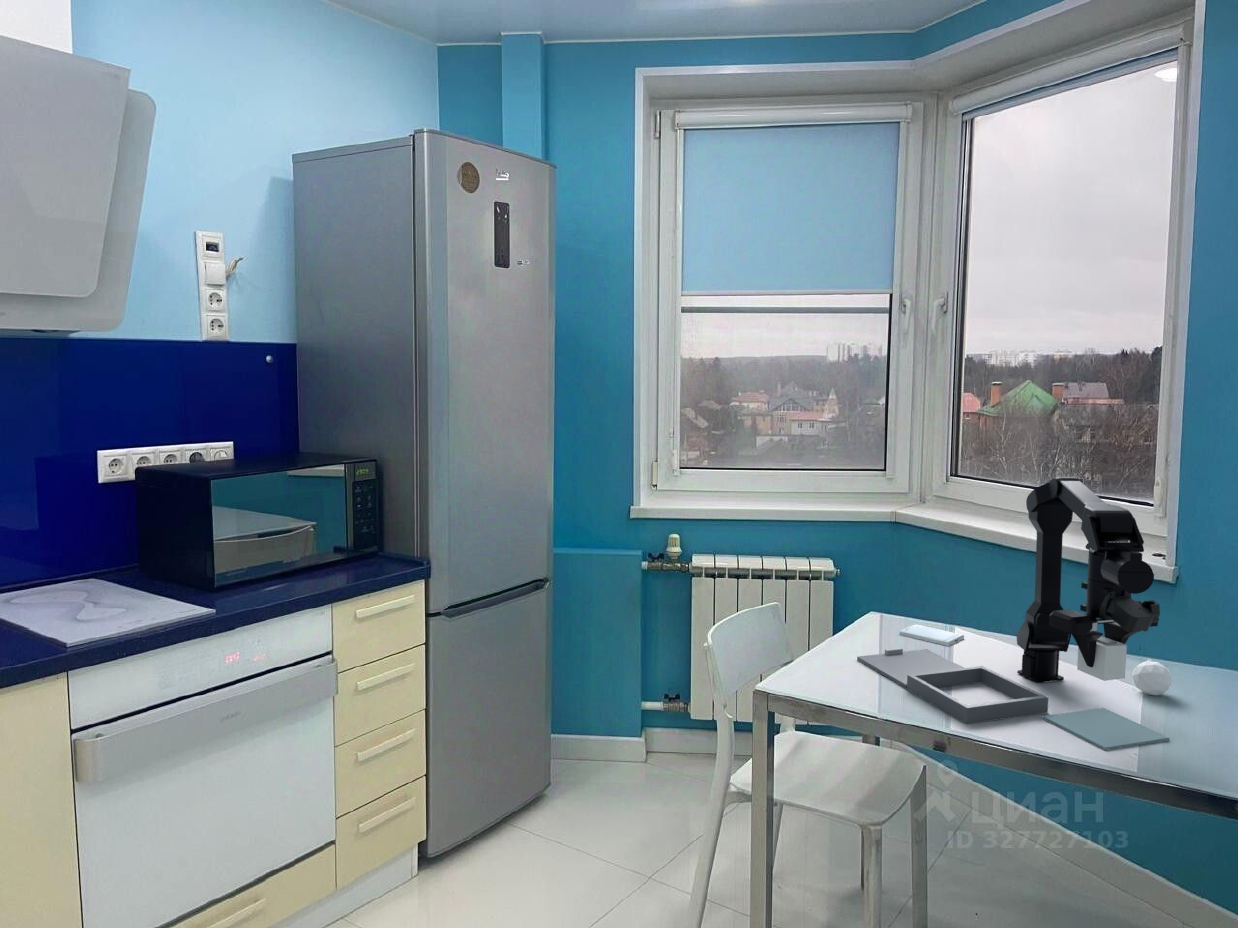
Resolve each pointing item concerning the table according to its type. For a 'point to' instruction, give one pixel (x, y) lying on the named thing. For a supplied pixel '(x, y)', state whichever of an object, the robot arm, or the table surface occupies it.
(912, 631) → the hard drive
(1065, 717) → the mat
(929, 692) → the case
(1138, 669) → the ornament
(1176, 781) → the table surface
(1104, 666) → the block
